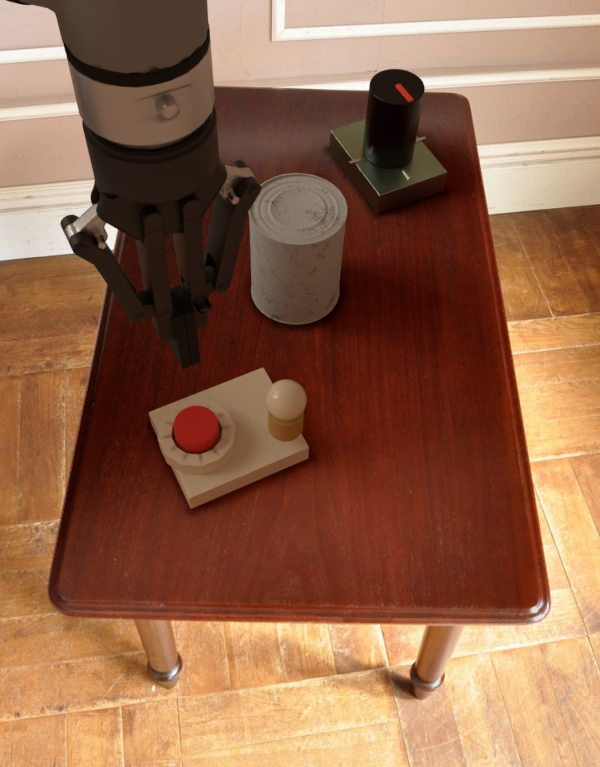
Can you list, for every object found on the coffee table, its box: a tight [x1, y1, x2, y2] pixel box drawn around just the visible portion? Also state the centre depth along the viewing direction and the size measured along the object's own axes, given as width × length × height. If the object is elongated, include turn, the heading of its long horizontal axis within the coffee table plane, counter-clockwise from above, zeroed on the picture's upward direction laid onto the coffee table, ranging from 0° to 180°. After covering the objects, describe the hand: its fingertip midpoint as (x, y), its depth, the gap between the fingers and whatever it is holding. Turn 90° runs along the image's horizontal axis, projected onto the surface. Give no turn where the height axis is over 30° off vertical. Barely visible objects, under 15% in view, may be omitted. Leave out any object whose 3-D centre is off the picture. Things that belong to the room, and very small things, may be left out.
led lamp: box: [265, 378, 308, 442], centre depth 76 cm, size 4×4×6 cm
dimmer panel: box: [328, 118, 448, 215], centre depth 102 cm, size 12×10×3 cm
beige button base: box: [148, 367, 310, 509], centre depth 80 cm, size 10×12×4 cm
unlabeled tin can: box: [248, 172, 348, 326], centre depth 87 cm, size 10×10×12 cm
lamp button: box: [173, 406, 219, 453], centre depth 78 cm, size 4×4×2 cm
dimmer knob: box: [363, 68, 426, 168], centre depth 97 cm, size 6×6×9 cm
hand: (185, 353), depth 68 cm, fingers closed
